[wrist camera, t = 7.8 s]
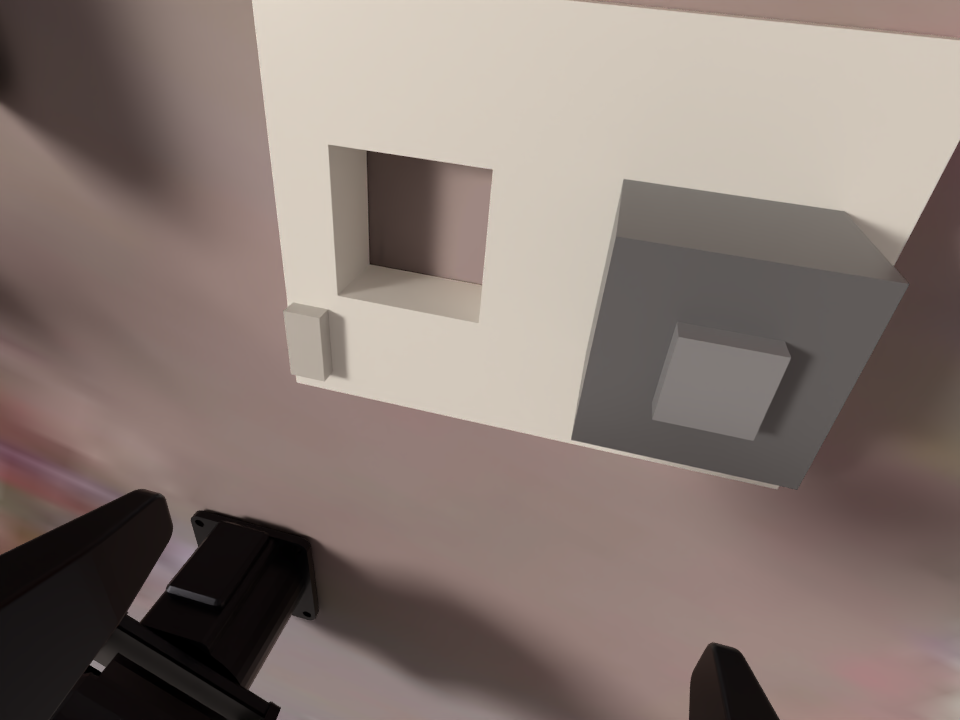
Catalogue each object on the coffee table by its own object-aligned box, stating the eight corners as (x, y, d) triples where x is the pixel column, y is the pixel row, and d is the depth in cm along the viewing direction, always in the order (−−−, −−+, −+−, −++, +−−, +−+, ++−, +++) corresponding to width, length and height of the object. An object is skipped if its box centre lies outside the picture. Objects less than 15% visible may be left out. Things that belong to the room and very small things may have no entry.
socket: (763, 437, 20) (781, 503, 17) (329, 346, 22) (288, 392, 20) (952, 36, 13) (1025, 47, 10) (300, -30, 16) (233, -34, 13)
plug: (752, 342, 18) (803, 509, 12) (592, 312, 19) (568, 457, 13) (817, 181, 15) (923, 299, 9) (626, 155, 16) (614, 248, 10)
